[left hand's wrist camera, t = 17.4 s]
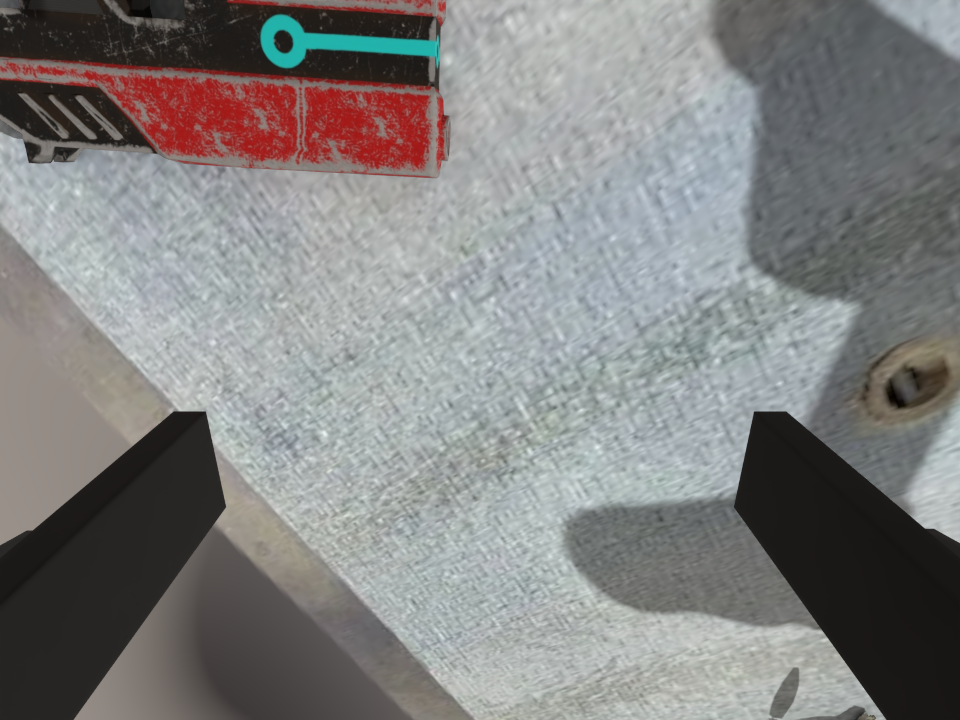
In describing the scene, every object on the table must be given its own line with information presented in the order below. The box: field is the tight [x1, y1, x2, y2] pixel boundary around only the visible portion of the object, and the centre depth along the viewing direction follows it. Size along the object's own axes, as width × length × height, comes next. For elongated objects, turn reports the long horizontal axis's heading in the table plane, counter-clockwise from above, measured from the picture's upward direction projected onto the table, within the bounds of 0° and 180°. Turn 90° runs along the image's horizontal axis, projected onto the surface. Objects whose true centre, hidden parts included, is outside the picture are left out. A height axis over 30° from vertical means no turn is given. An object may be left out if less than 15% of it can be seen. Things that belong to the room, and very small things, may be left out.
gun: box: [0, 0, 450, 178], centre depth 34 cm, size 4×31×19 cm
